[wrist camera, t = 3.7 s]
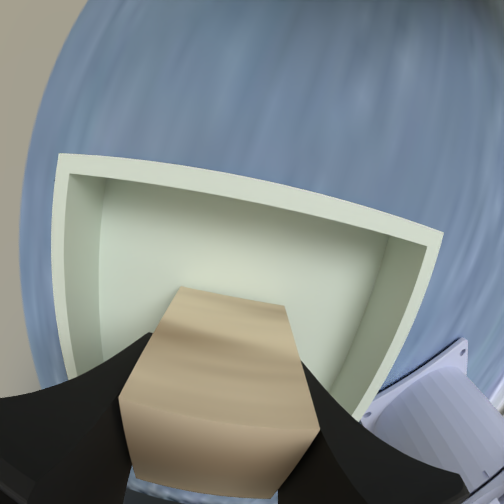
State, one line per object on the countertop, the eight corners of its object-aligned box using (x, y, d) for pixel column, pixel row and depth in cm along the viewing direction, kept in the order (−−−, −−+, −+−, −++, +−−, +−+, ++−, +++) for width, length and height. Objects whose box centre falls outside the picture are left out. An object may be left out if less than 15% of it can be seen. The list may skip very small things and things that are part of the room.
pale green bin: (314, 429, 13) (323, 467, 10) (102, 392, 12) (83, 427, 9) (400, 219, 10) (443, 232, 7) (102, 157, 9) (59, 153, 6)
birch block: (261, 382, 11) (270, 498, 5) (173, 366, 11) (136, 478, 5) (284, 305, 10) (320, 429, 4) (180, 286, 10) (118, 397, 4)
